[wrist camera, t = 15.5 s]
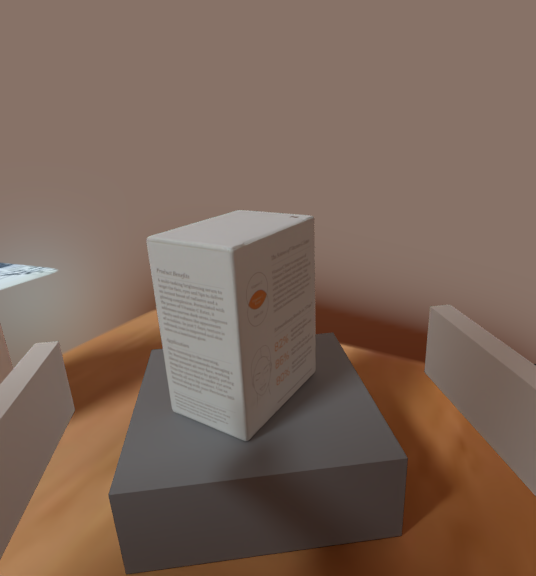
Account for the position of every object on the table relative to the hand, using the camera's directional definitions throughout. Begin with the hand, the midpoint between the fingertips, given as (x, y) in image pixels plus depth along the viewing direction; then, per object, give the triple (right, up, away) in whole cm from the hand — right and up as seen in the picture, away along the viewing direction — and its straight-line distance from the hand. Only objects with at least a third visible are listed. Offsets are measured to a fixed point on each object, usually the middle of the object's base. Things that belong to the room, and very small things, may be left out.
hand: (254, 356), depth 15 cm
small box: (-1, -4, +11) cm, 12 cm away
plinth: (0, -9, +13) cm, 16 cm away
